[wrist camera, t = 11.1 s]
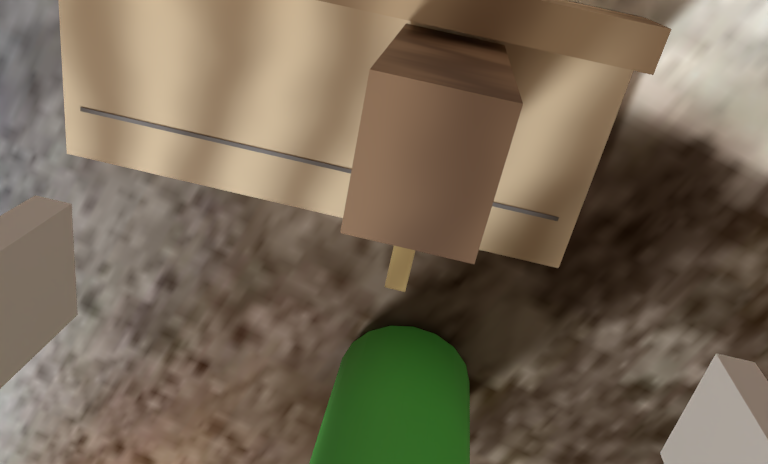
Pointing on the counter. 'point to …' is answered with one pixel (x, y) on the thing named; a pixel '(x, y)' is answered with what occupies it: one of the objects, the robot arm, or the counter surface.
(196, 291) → the counter surface
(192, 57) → the board
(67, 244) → the robot arm
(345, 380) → the bottle
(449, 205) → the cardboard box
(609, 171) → the counter surface
